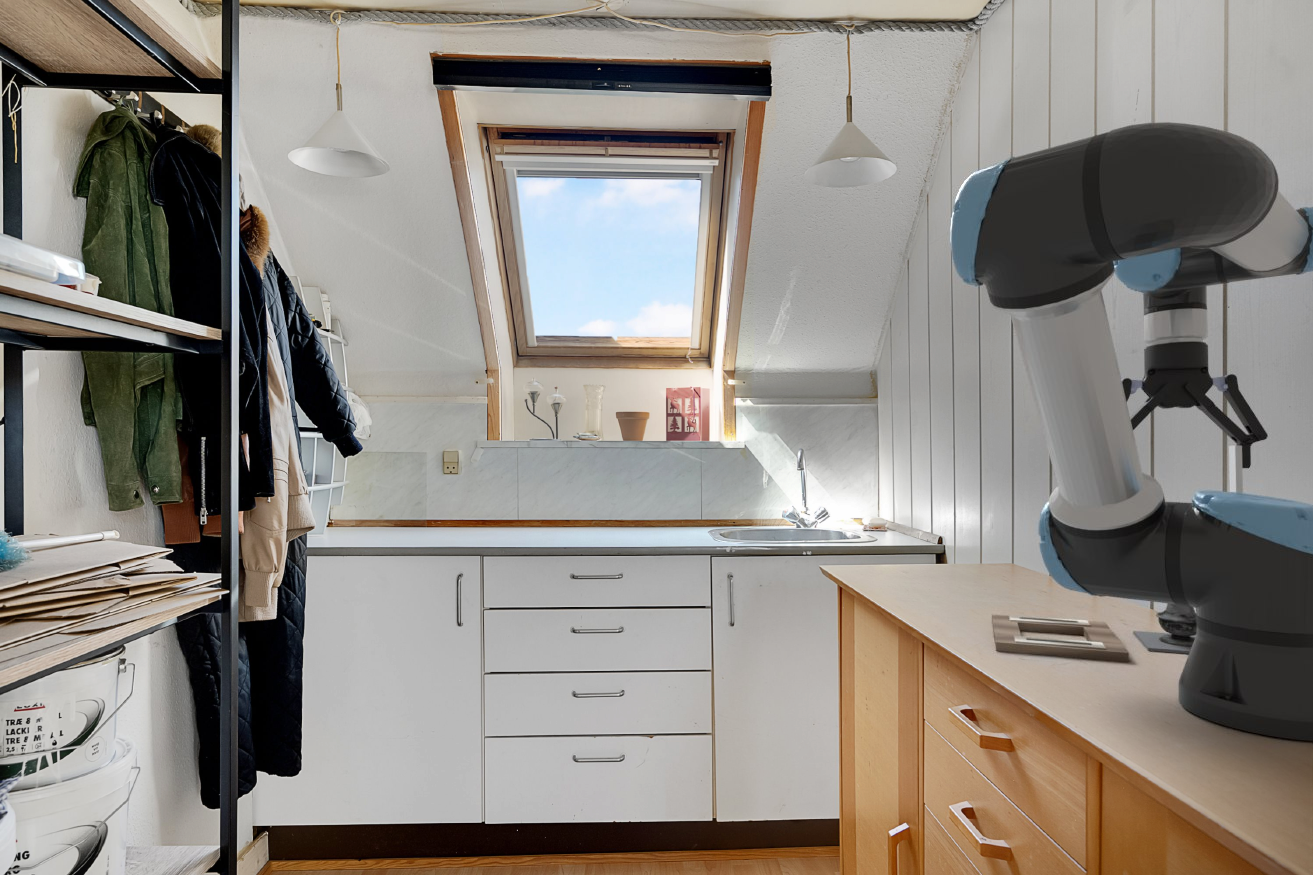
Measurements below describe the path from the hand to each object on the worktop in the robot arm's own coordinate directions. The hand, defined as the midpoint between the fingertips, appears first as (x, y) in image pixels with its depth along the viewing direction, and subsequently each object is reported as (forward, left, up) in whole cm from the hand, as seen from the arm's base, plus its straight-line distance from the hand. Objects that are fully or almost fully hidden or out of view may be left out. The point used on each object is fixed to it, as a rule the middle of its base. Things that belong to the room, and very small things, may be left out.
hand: (1178, 492), depth 106 cm
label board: (-3, +16, -22) cm, 27 cm away
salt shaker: (0, 0, -22) cm, 22 cm away
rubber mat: (0, 0, -22) cm, 22 cm away
